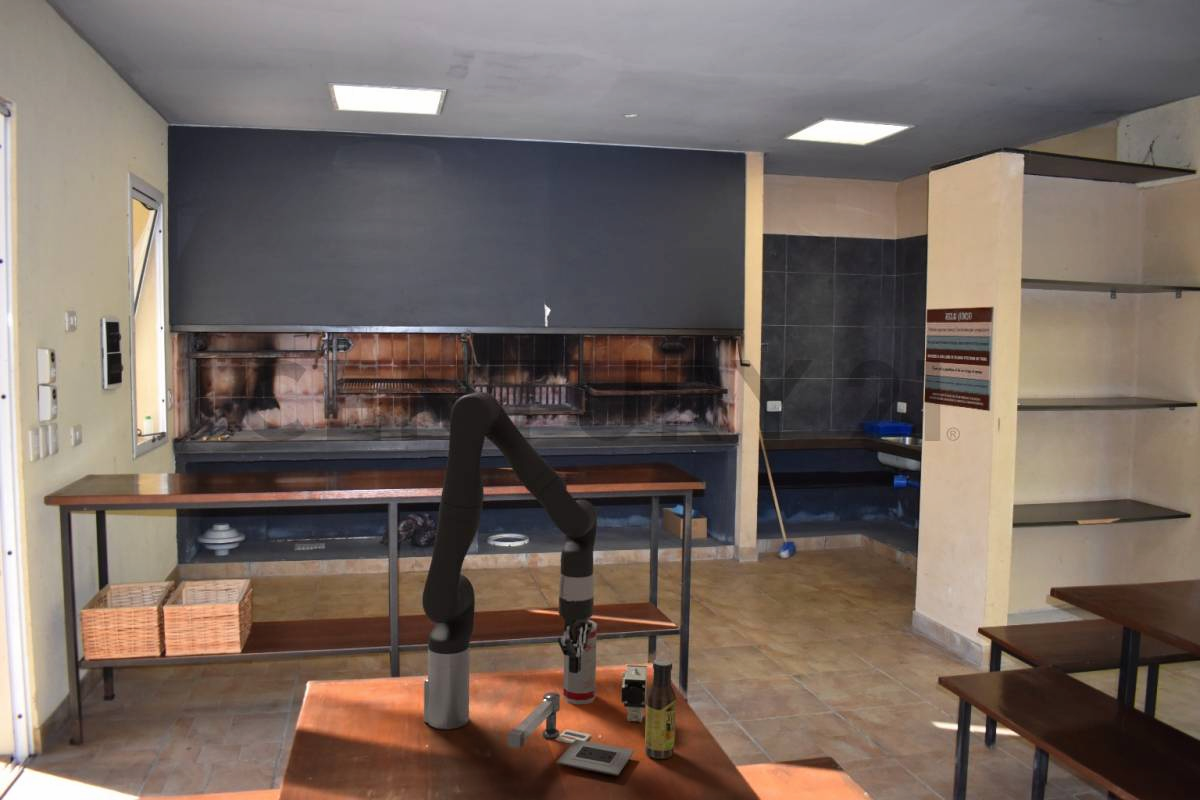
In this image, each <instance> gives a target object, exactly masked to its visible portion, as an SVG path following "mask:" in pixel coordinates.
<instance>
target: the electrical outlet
mask: <svg viewBox="0 0 1200 800" xmlns="http://www.w3.org/2000/svg"><path fill="white" fill-rule="evenodd" d="M634 752H635V750H634V749H631V748H625V747H619V746H615V745H614V746H613V745H607V744H603V743H598V742H593V741H588V740H587V741H583V740H577V739H575V741H574V742H573V743H572V744H570V746H569V747H568V748H567V749H566V750H565V751H564V753H562V755H561V756H560V757H559V759H558V760H557V761H556V764H557V765H560V766H563V767H568V768H573V769H577V770H584V771H587V772H588V771H589V772H592V773H593V772H594V773H598V774H603V775H608V776H609V775H610V776H614V777H618V776H619V775H620V773H622V770H623V768H624V767H625V766H626V765H627V763H628V762H629V760H630V759H631V757H632V755H633V754H634Z"/></svg>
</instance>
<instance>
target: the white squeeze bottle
mask: <svg viewBox="0 0 1200 800" xmlns="http://www.w3.org/2000/svg"><path fill="white" fill-rule="evenodd" d="M587 622H589V623H592V629H591V632H590V636H589V639H588V643H587V646H586V649H583V653H582V655H581V671H579V672H578V673H571V672H569V656H566V655H564V654H563V692H562V693H563V694H562V697H563V698H564V699H563V700H564V701H566V702H567V703H569V702H570V703H569V704H574V705H583V704H584V705H587V704H589V703H593V702H594V701H595V699H596V683H597V682H596V681H597V680H596V678H597V677H596V675H597V638H598V636H597V634H598V633H597V632H598V629H597V628H598V624H597V623H596V622H595V621H593V620H590V619H588V621H587Z"/></svg>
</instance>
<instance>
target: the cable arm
mask: <svg viewBox="0 0 1200 800" xmlns="http://www.w3.org/2000/svg"><path fill="white" fill-rule="evenodd" d="M560 698H561V697H560V694H559V693H558V692H546V693H544V694H543V700H542V701H541V702H540V703H539V704H538V705H537V706H536V707H535V708H534V709H533V710H531V712H530V713H529V714H528V715H527V717H525V718H524V719H523V720H522V721H521V722H520V723H519V724H518V725H517V726H516V727H515V728H512V729H510V731H509V732H508V734H507V747H509V748H515V749H519V750H521V748H522V747H523V746H524V745H525V742H526V741H527V740H528V738H529V737H530V736H531V735H532V734H533V733H534V732H535V731H536V730H537V729H538V727H540V726H541V725H542V724H543V722H545V721H546V718H547V717H548V716H549V715H550V714H551V713H554V712H556V713H557V712H559V711H560V709H561V707H560V703H561V699H560Z"/></svg>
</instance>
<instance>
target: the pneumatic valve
mask: <svg viewBox="0 0 1200 800" xmlns="http://www.w3.org/2000/svg"><path fill="white" fill-rule="evenodd" d="M625 669H626V671H622V672H621V678H622V684H621V685H622V687H621V703H623V708H624V707H625V708H627V714H626V715H627V716H626V720H627V722H628V723H629V722H638V723H642V721H643V715H644V714H643V709H646V700H647V674H648V673H647V672H648V671H647V669H648V668H647V666H646V665H629V664H627V665H626V667H625Z"/></svg>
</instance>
